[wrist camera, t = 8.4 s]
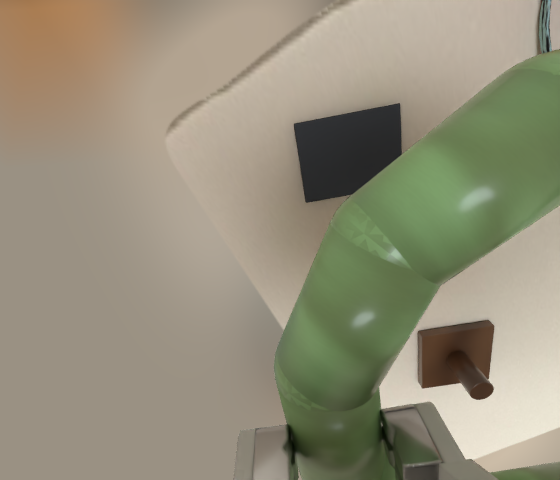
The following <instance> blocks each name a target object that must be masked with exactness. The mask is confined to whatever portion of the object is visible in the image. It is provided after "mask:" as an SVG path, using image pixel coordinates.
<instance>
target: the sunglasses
mask: <svg viewBox="0 0 560 480" xmlns="http://www.w3.org/2000/svg"><path fill="white" fill-rule="evenodd" d="M550 8H551V0H542V5H541V11H540V23H539V39H540V46H541V53H542V54H543V53H547V52H550V51H552V49H551V41H550V29H549V22H550Z"/></svg>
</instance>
